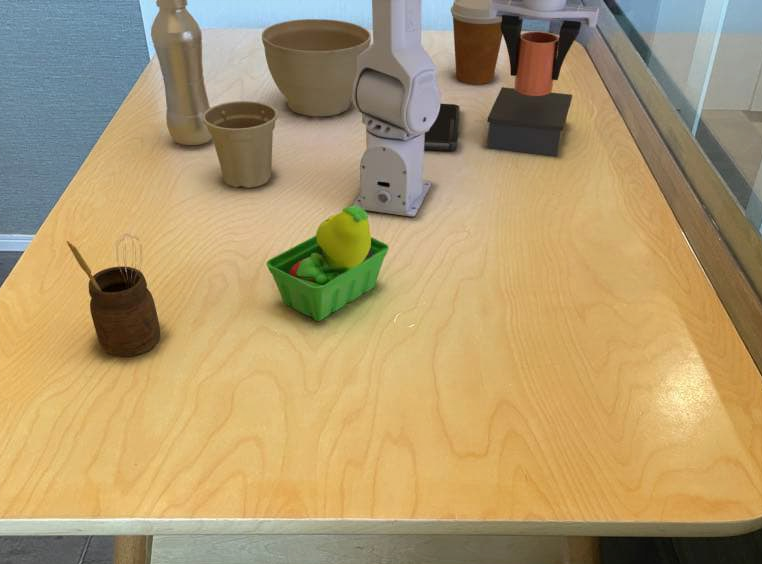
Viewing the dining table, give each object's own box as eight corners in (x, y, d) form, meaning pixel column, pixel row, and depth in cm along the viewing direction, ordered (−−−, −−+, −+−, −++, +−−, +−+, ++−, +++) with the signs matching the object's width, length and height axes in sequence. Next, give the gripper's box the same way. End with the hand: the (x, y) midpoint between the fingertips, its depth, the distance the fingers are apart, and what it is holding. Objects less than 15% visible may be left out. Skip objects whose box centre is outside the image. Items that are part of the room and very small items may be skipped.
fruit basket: (339, 262, 92) (336, 168, 85) (400, 290, 88) (402, 193, 81) (266, 305, 85) (256, 206, 78) (328, 337, 81) (323, 236, 74)
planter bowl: (360, 130, 121) (359, 54, 114) (255, 122, 123) (247, 46, 115) (379, 92, 133) (379, 21, 126) (283, 85, 135) (278, 14, 127)
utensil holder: (173, 341, 80) (151, 232, 72) (115, 368, 77) (86, 257, 69) (142, 316, 84) (118, 209, 76) (85, 340, 80) (54, 231, 72)
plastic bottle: (207, 152, 114) (185, -2, 101) (162, 148, 115) (134, -6, 102) (223, 134, 119) (204, -15, 106) (180, 130, 120) (156, -19, 107)
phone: (401, 141, 115) (409, 101, 126) (401, 148, 116) (409, 109, 127) (457, 143, 115) (460, 104, 126) (457, 151, 115) (460, 111, 127)
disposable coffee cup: (437, 72, 140) (440, -3, 132) (485, 65, 143) (491, -9, 136) (463, 91, 134) (468, 12, 126) (513, 83, 137) (521, 6, 129)
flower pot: (196, 184, 106) (186, 119, 101) (239, 158, 113) (232, 95, 107) (255, 201, 103) (248, 134, 98) (296, 172, 110) (292, 109, 104)
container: (558, 157, 115) (563, 126, 112) (484, 148, 116) (487, 117, 114) (567, 124, 124) (572, 94, 121) (498, 116, 126) (501, 86, 123)
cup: (549, 97, 113) (556, 45, 109) (511, 93, 114) (517, 41, 110) (553, 84, 117) (560, 33, 113) (517, 81, 118) (522, 30, 114)
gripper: (606, -35, 107) (589, 71, 116) (498, -43, 110) (489, 61, 119) (603, -21, 102) (585, 88, 111) (489, -31, 105) (480, 77, 114)
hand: (535, 75), depth 114 cm, fingers closed on cup, 5 cm apart
